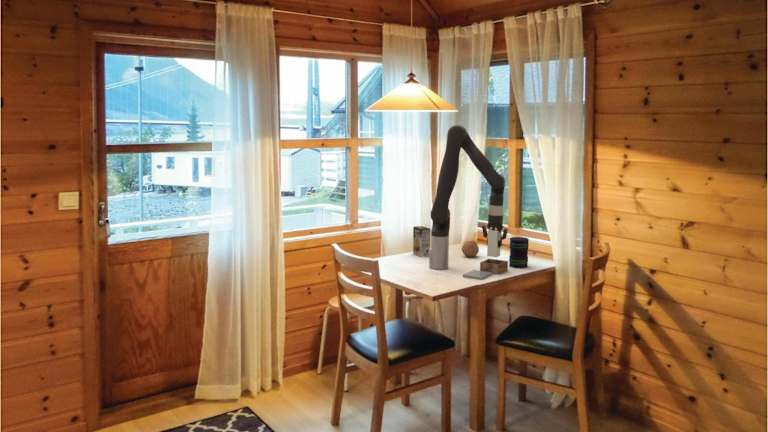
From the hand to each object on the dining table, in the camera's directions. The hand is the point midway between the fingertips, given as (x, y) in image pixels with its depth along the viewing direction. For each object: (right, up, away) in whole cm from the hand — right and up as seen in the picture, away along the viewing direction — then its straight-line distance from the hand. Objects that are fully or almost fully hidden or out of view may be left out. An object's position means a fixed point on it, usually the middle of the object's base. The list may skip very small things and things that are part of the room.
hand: (494, 246), depth 339 cm
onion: (-8, -8, +37) cm, 38 cm away
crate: (0, -13, +2) cm, 13 cm away
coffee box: (-35, -7, +41) cm, 54 cm away
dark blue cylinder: (+15, -11, +13) cm, 23 cm away
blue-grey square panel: (-10, -14, -8) cm, 19 cm away
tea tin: (0, -5, +1) cm, 5 cm away
